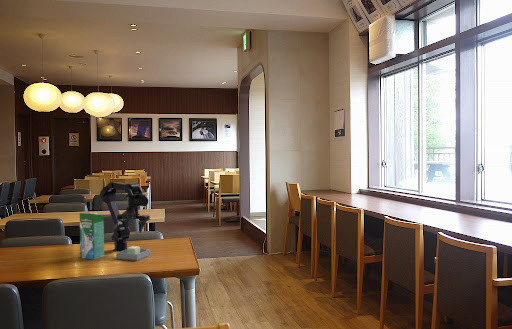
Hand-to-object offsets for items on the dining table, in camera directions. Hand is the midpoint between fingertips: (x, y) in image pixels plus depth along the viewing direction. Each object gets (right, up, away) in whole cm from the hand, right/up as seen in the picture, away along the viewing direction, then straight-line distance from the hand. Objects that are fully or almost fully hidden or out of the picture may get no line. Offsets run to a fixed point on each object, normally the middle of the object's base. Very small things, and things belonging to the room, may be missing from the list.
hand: (133, 232), depth 267 cm
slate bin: (+3, -12, -11) cm, 17 cm away
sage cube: (+3, -12, -11) cm, 16 cm away
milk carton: (-20, -13, -9) cm, 26 cm away
